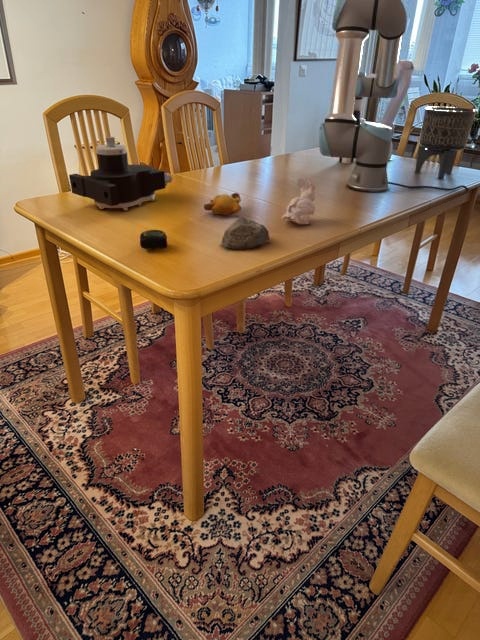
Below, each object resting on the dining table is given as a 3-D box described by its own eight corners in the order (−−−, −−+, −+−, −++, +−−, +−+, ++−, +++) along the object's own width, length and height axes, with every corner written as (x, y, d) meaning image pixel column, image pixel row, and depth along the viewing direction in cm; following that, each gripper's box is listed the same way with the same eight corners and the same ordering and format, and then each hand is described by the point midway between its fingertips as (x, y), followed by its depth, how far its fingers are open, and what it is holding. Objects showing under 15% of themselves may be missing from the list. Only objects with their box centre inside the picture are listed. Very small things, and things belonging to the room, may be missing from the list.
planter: (406, 175, 197) (419, 108, 184) (419, 168, 211) (432, 105, 198) (453, 182, 187) (471, 112, 174) (463, 174, 201) (480, 109, 188)
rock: (255, 233, 128) (256, 211, 124) (276, 242, 122) (278, 219, 119) (217, 244, 120) (217, 220, 117) (239, 254, 115) (239, 230, 111)
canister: (339, 162, 219) (341, 152, 217) (341, 161, 223) (343, 150, 221) (349, 163, 218) (351, 153, 215) (351, 162, 222) (353, 151, 219)
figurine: (321, 218, 142) (325, 177, 135) (298, 231, 131) (302, 187, 125) (298, 213, 146) (301, 173, 139) (274, 225, 135) (277, 182, 128)
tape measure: (140, 252, 115) (139, 238, 113) (141, 242, 120) (140, 229, 119) (167, 251, 116) (166, 237, 114) (167, 241, 121) (166, 228, 120)
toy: (200, 206, 138) (209, 192, 151) (208, 225, 141) (216, 210, 154) (234, 195, 135) (241, 182, 148) (241, 215, 138) (247, 200, 151)
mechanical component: (62, 136, 139) (140, 127, 159) (73, 204, 150) (145, 188, 170) (104, 145, 127) (182, 134, 147) (113, 218, 138) (185, 199, 158)
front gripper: (370, 108, 212) (362, 160, 224) (332, 108, 212) (326, 159, 224) (374, 110, 205) (365, 163, 217) (334, 109, 206) (328, 162, 217)
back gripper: (341, 107, 234) (338, 135, 241) (359, 110, 223) (355, 139, 230) (352, 106, 237) (349, 134, 244) (370, 109, 226) (366, 138, 232)
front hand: (345, 161), depth 220 cm, fingers closed on canister, 5 cm apart
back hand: (352, 136), depth 237 cm, fingers open, 7 cm apart
